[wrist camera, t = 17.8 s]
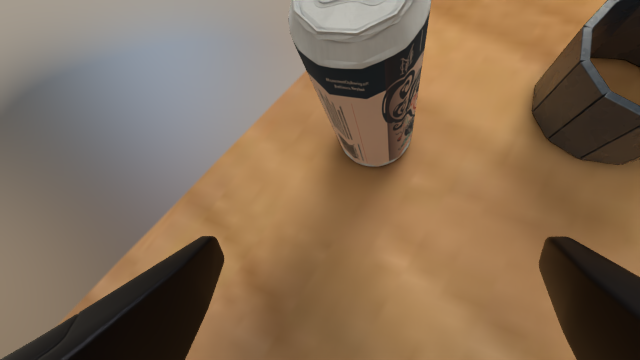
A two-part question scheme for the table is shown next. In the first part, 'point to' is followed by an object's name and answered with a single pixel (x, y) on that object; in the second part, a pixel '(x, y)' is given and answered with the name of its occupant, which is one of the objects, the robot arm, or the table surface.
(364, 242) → the table surface
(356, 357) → the table surface
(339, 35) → the beer can
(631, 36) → the can holder
